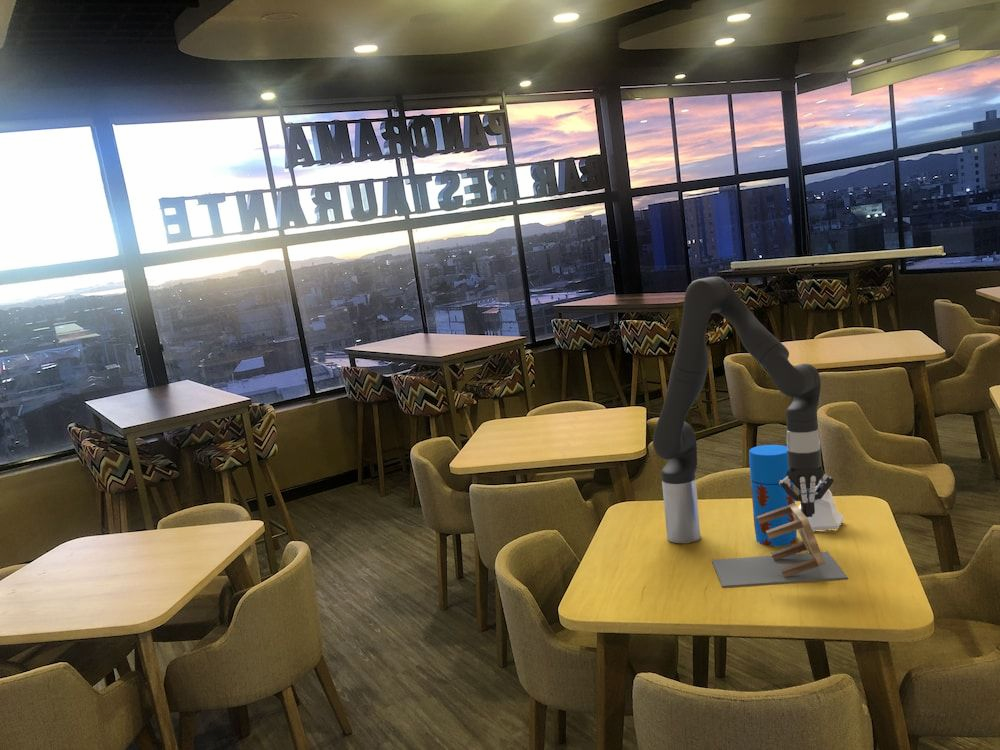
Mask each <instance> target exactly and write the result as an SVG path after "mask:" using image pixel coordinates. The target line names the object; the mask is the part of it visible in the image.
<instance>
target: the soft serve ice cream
mask: <svg viewBox="0 0 1000 750" xmlns="http://www.w3.org/2000/svg"><path fill="white" fill-rule="evenodd" d="M821 483H822V482H821V480H820V482H819V483H818V485H817V486H816V487H815V491H816V490H817V488H818V487H819V486H820V484H821ZM798 507H799V509H800V510H801V503H800V504H799V505H798ZM814 508H815V513H814V514H812V517H807V518H808V521H809V523H810V526H811V528H812V531H814V530H815V531H816V530H829V529H831V530H832V529H834V530H835V529H838V528H839V529H840V527H841V526H840V525H842V524H843V523H844V518H845V516H843V514H841V513H840V512H839V511H838V510H837V507H836V503H835V500H834V497H833V494H832V492H831V490H830V488H829V489H828V490H827V491H826V493H825V494H824V495H823V497H822V498H821V499H817V500H815V502H814ZM842 522H843V523H842ZM841 523H842V524H841ZM839 526H840V527H839ZM839 529H838V530H839Z"/></svg>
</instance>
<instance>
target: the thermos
mask: <svg viewBox="0 0 1000 750" xmlns="http://www.w3.org/2000/svg"><path fill="white" fill-rule="evenodd" d="M748 451H749V452H748V453H749V454H748V460H749V461H748V462H749V474H750V486H751V499H752V500H751V501H752V513H753V525H754V534H755V539H756V542H757V543H759V544H761V545H764V546H769V547H786V546H789V545H790V546H791V545H792V544H793V545H794V543H796V542H797V539H798V534H797V533H798V531H797V530H798V529H797V530H794V531H792V532H789V533H786V534H783V535H780V536H777V537H775V538H772V539H769V538H768V536H767V533H766V531H767V530H770V529H773V528H775V527H778V526H781V525H784V524H787V523H790V522H792V521H795V520H794V518H793V515H792V513H790V514H788V515H785V516H782V517H779V518H776V519H774V520H771V521H768V522H765V523H762V524H759V522H758V519H757V517H756V516H759V515H762V514H765V513H768V512H770V511H773V510H776V509H779V508H782V507H784V506H787V505H790V504H793V503H795V504H796V501H795V500H794V499H793V498H792V497H791V496H790V495H789V494H788V493H787V492H786V491H785V490H784V489H783V488H782V486H781V485H780V484H779V480H783V479H784V478H785V477H787V472H788V454H787V445H781V444H763V445H757V446H754V447H751V448H750V449H749V450H748ZM790 484H791V485H790V488H791V489H792V490H793V491H794V492H795V485H794V484H793V483H792V481H791V480H790Z"/></svg>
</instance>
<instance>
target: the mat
mask: <svg viewBox="0 0 1000 750" xmlns="http://www.w3.org/2000/svg"><path fill="white" fill-rule="evenodd" d="M821 554H822V557H823V559H824V562H825V564H824V565H821V566H818V567H815V568H812V569H809V570H806V571H803V572H800V573H797V574H795V575H792V576H789V577H786V578H784V576H783V574H782V571H781V569H783V568H786V567H789V566H792V565H795V564H798V563H801V562H803V561H806V560H809V559H812V556H811V555H810V553H809V552H803V553H802V552H799V553H796V554H793V555H790V556H788V557H785V558H782V559H779V560H776V561H774V559H773V557H772V555H761V556H746V557H737V558H736V557H735V558H734V557H733V558H720V559H719V558H717V559H711V562H712V565H713V568H714V570H715V572H716V573H715V574H716V575H717V578H718V580H719V582H720V585H721V587H722V588H731V587H732V588H733V587H747V586H748V587H749V586H760V585H761V586H763V585H776V584H787V583H788V584H791V583H802V582H803V583H804V582H817V581H818V582H820V581H832V580H833V581H834V580H847V579H849V577H848V575H847V574H846V573H845V572H844V571H843V569H842V568H841V567H840V565H839V564H838V562H837V561H836V560H835V559H834V557H833V556H832V555H831V553H830V552H828V551H821Z"/></svg>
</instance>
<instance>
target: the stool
mask: <svg viewBox="0 0 1000 750" xmlns="http://www.w3.org/2000/svg"><path fill="white" fill-rule="evenodd" d="M790 513H792V515H793V518H794V520H795V521H792V522H790V523H787V524H784V525H781V526H778V527H775V528H773V529H770V530H767V531H766V533H767V536H768V538H769V539H772V538H775V537H777V536H780V535H783V534H786V533H789V532H792V531H794V530H798V533H799V535H800V538H801V540H802V541H801V542H799V543H795V544H793V545H792V544H791V545H790V546H787V547H784V548H781V549H779V550H775V551H773V552H770V556H772V557H773V559H774V561H776V560H779V559H782V558H785V557H788V556H790V555H793V554H800V553H802V552H804V551H805V552H806V551H807V553H810V555H811V556H812V559H809V560H806V561H803V562H801V563H798V564H795V565H792V566H789V567H786V568H783V569H781V571H782V574H783V576H784V578H786V577H789V576H792V575H795V574H797V573H800V572H803V571H806V570H809V569H812V568H815V567H818V566H821V565H824V564H825V562H824V559H823V557H822V554H821V552H822V551H821V549H820V546H819V544H818V542H817V538H816V537H815V534H814V532H813V531H812V528H811V526H810V523H809V521H808V518H807V517H806V516H805V515H804V514H803V512H802V511H801V510H800V509H799V505H797V503H796V502H795V503H793V504H790V505H787V506H784V507H782V508H779V509H776V510H773V511H770V512H768V513H765V514H762V515H759V516H756V517H757V519H758V522H759V524H762V523H765V522H768V521H771V520H774V519H776V518H779V517H782V516H785V515H788V514H790Z"/></svg>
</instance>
